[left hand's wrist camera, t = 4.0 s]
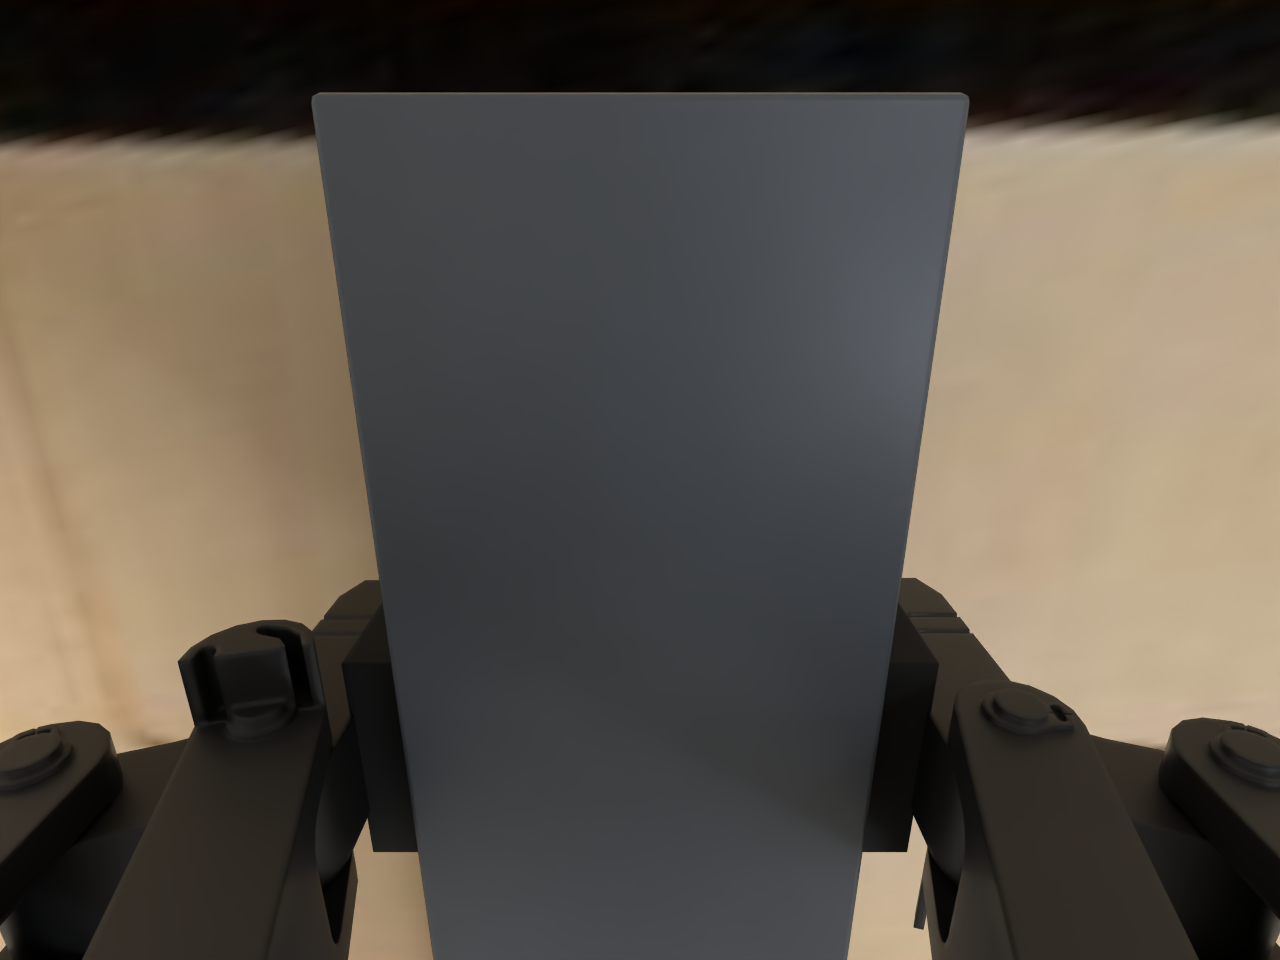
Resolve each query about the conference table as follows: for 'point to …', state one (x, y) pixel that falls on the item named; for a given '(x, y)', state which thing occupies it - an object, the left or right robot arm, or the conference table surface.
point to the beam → (640, 493)
